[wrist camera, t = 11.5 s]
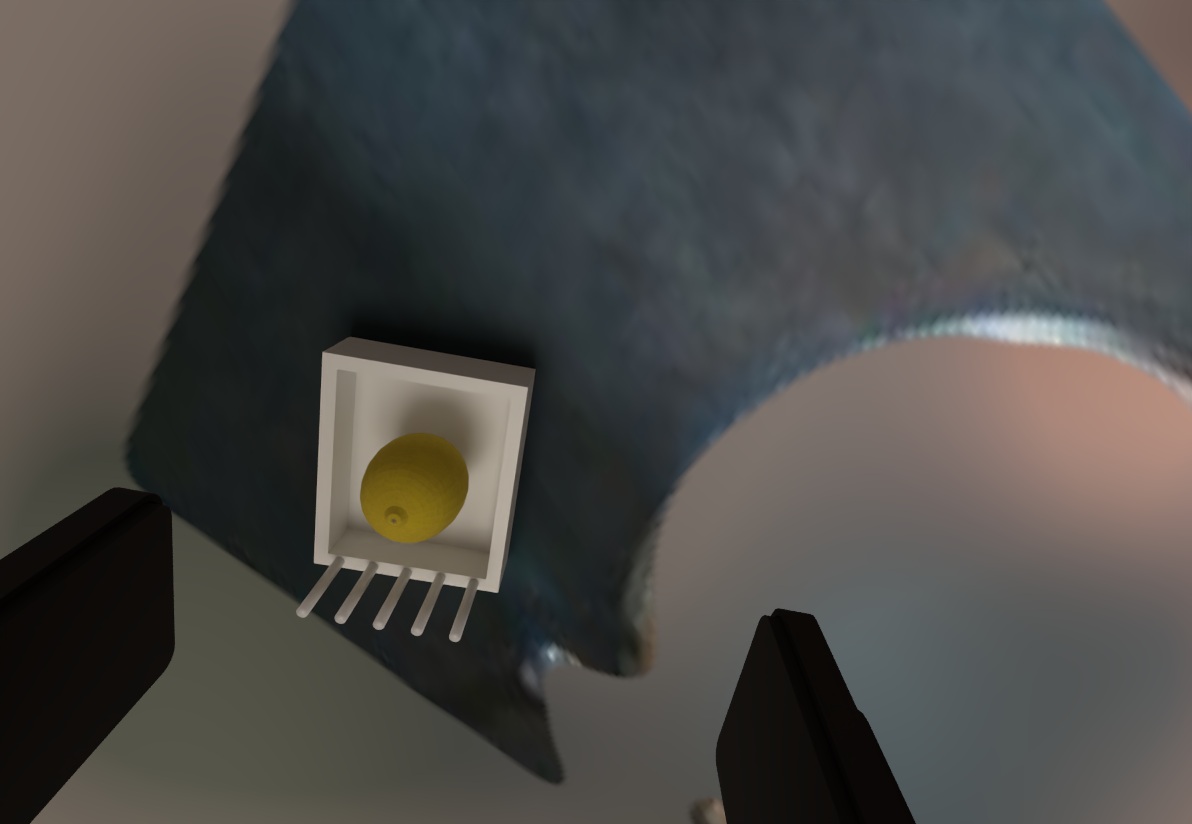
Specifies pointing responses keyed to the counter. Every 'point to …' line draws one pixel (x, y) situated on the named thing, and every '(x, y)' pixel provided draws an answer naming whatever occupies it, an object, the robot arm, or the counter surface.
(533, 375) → the rack
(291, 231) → the counter surface
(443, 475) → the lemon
